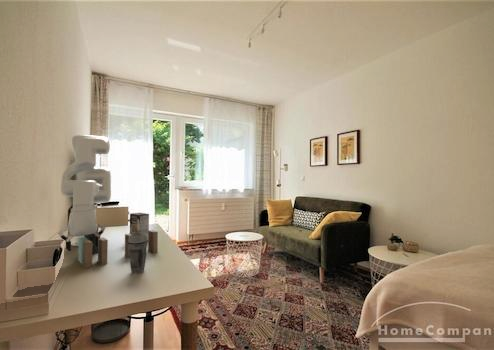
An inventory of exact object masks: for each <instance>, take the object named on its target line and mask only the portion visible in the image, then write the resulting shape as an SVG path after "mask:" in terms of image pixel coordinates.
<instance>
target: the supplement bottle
mask: <svg viewBox="0 0 494 350" xmlns="http://www.w3.org/2000/svg"><path fill="white" fill-rule="evenodd" d="M98 232H99V227H97V233H98ZM84 237H85V238H87V240H90V241H91V242H92V255H94V254H95V255H96V254H98V244H97V247H95V246H94V237H95V235H94V234H88V235H84ZM99 238H101V236H100V237H99Z"/></svg>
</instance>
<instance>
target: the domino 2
mask: <svg viewBox="0 0 494 350" xmlns="http://www.w3.org/2000/svg"><path fill="white" fill-rule="evenodd" d="M108 241H109V240H108V239H107V238H105V237H100V238H98V253H97V262H98V263H99V264H100V265H101V266H102V265H107V264H108V247H109V246H108Z"/></svg>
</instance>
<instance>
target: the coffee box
mask: <svg viewBox="0 0 494 350" xmlns="http://www.w3.org/2000/svg"><path fill="white" fill-rule="evenodd" d="M137 219H139V231H143V232H144V233H146V235H147V237H148V230H149V229H150V228H149V227H150V223H149V222H150V214H149V213H146V212H145V213H144V212H132V213H129V233H130V234H132V233H133V232H135V231H137Z"/></svg>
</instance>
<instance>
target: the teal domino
mask: <svg viewBox="0 0 494 350" xmlns="http://www.w3.org/2000/svg"><path fill="white" fill-rule="evenodd" d="M84 240H87V238H85V237H79V245H78V246H77V247H78V251H77V252H78V253H77V254H78V257H77V261H79V263H81V264H82V265H83V241H84Z"/></svg>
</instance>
